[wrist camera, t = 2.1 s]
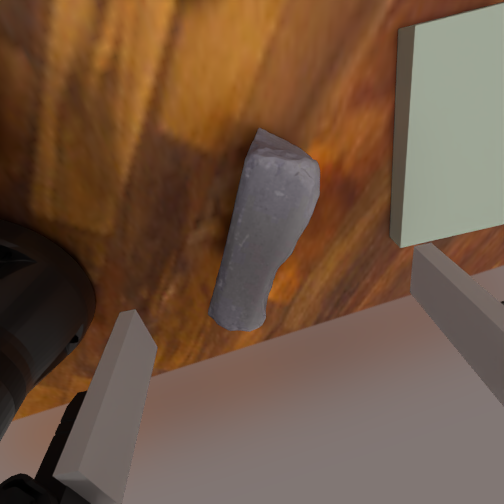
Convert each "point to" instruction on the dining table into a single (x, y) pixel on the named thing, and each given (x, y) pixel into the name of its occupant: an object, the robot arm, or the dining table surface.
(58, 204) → the dining table surface
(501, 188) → the base
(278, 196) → the stone block
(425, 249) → the robot arm
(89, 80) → the dining table surface
